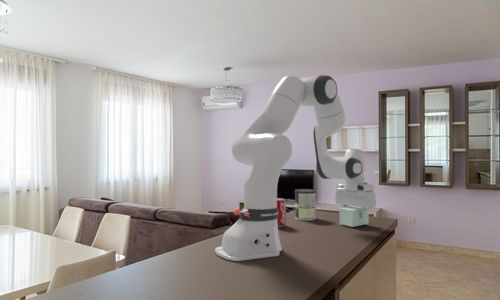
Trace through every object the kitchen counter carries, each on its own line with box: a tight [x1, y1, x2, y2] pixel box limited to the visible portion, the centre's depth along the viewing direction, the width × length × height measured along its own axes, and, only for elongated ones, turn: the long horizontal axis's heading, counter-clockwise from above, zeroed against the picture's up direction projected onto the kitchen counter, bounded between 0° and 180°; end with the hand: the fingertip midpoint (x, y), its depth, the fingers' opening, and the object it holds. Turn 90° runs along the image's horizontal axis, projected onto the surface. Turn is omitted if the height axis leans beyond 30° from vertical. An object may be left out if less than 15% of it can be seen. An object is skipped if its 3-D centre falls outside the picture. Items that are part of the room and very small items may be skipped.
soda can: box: [277, 197, 287, 228], centre depth 152 cm, size 7×7×12 cm
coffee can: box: [294, 188, 317, 221], centre depth 169 cm, size 10×10×14 cm
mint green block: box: [338, 206, 370, 228], centre depth 153 cm, size 11×7×7 cm
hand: (354, 216), depth 153 cm, fingers closed on mint green block, 7 cm apart
